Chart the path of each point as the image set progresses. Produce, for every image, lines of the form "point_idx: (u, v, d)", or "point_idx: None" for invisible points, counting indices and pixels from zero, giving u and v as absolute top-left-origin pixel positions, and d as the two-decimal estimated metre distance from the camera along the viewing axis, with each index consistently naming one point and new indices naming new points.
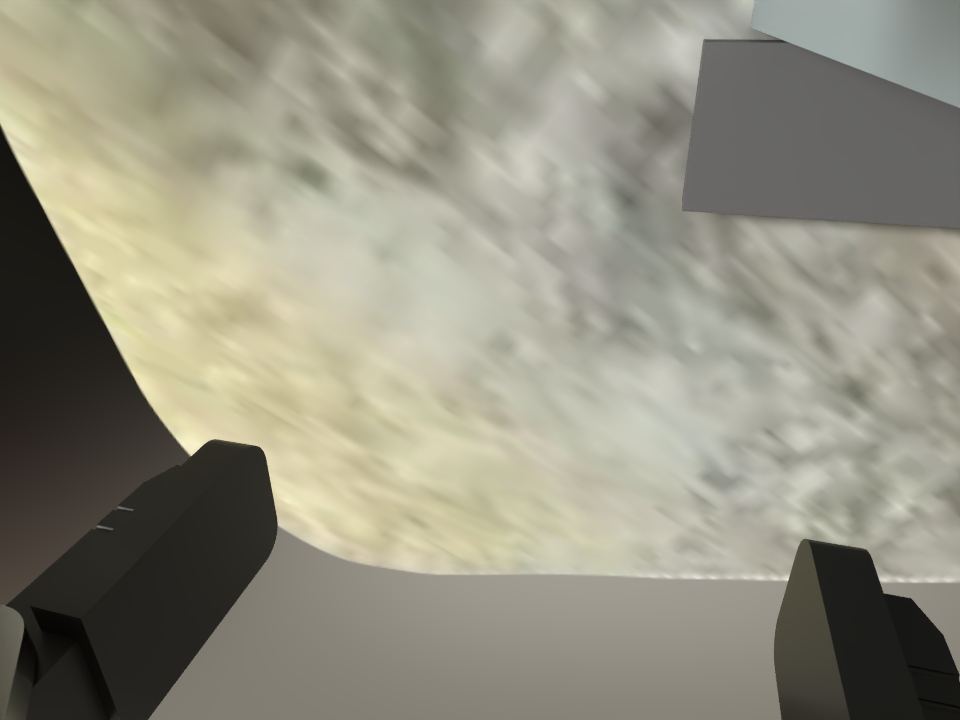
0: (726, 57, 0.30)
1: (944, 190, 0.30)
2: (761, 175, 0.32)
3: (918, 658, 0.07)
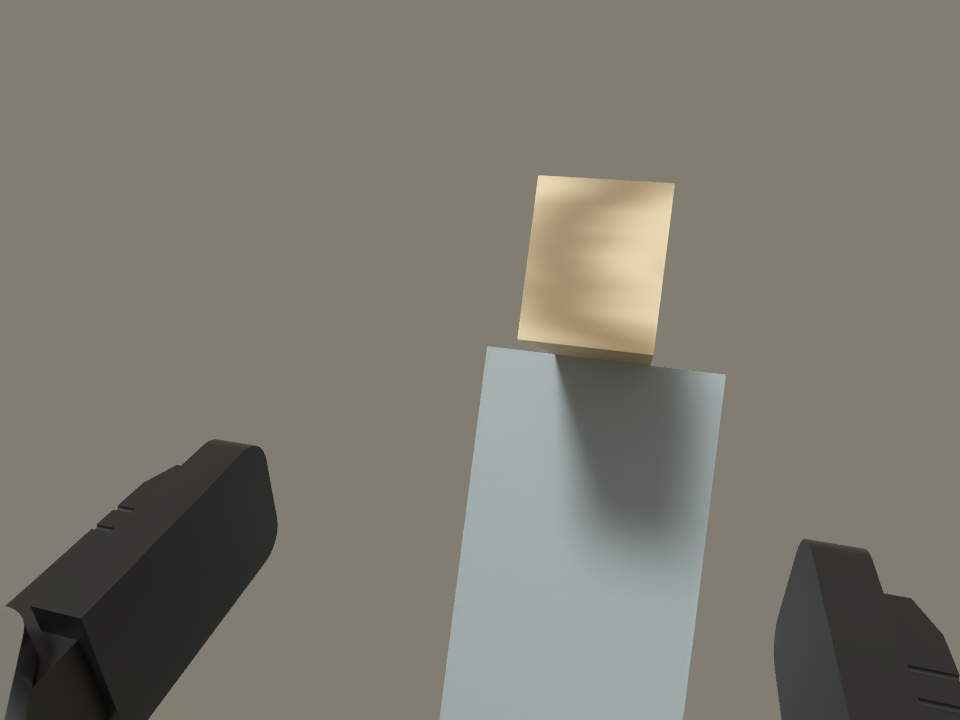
0: None
1: None
2: None
3: (918, 658, 0.07)
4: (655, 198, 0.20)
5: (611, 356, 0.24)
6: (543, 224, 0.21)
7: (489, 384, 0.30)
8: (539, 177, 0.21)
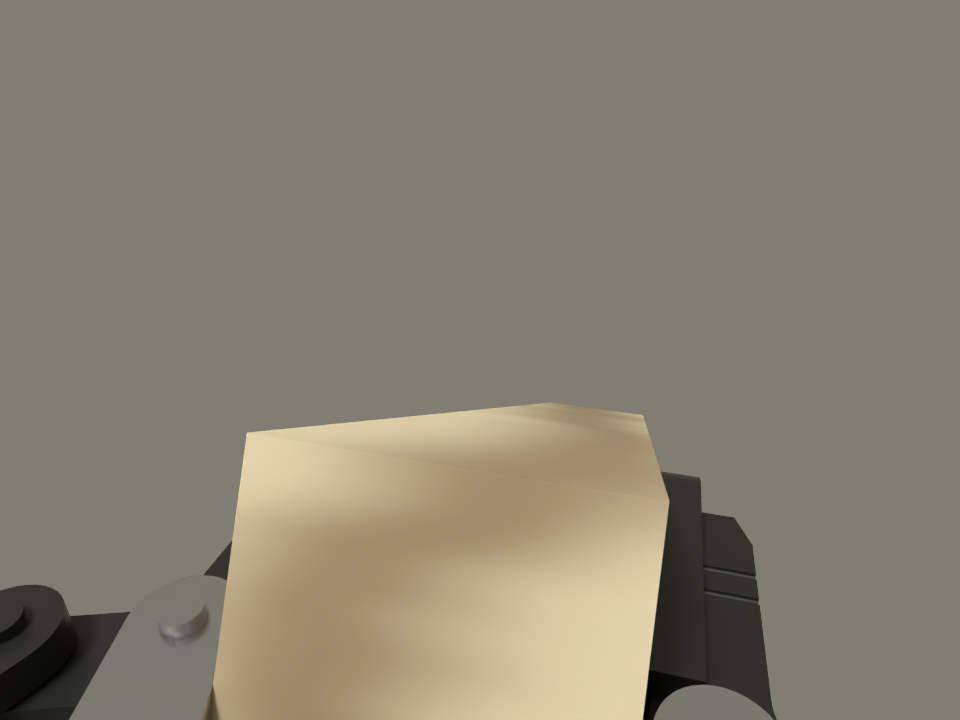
0: None
1: None
2: None
3: (724, 561, 0.09)
4: (603, 546, 0.06)
5: None
6: (257, 591, 0.07)
7: None
8: (250, 438, 0.07)
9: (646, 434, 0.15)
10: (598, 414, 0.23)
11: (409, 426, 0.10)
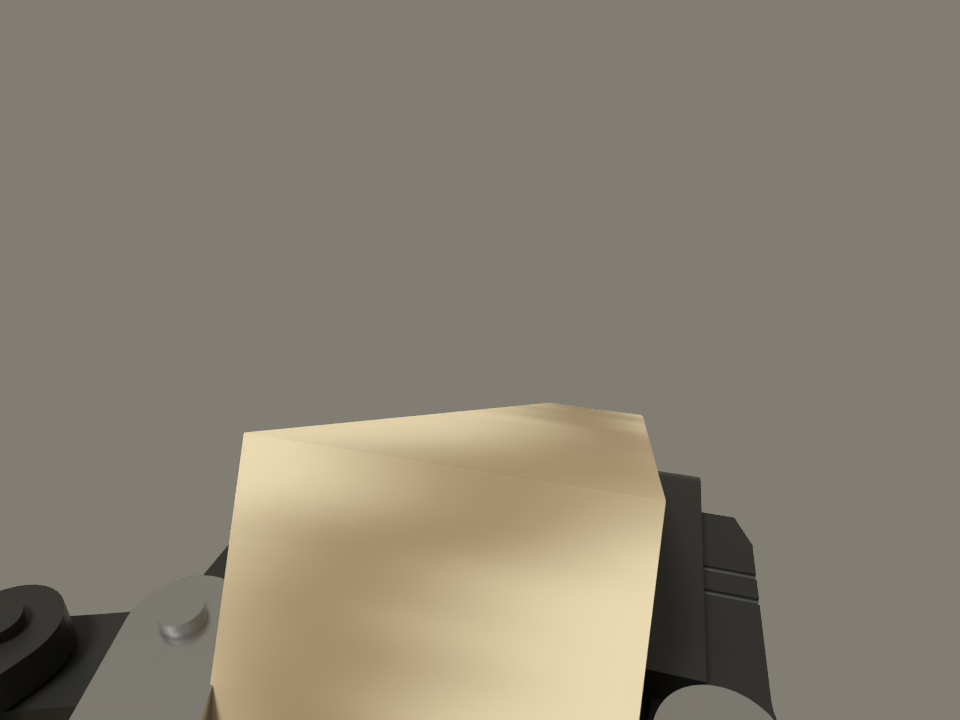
0: None
1: None
2: None
3: (724, 561, 0.09)
4: (600, 546, 0.06)
5: None
6: (255, 590, 0.07)
7: None
8: (247, 438, 0.07)
9: (645, 434, 0.15)
10: (597, 414, 0.23)
11: (407, 426, 0.10)
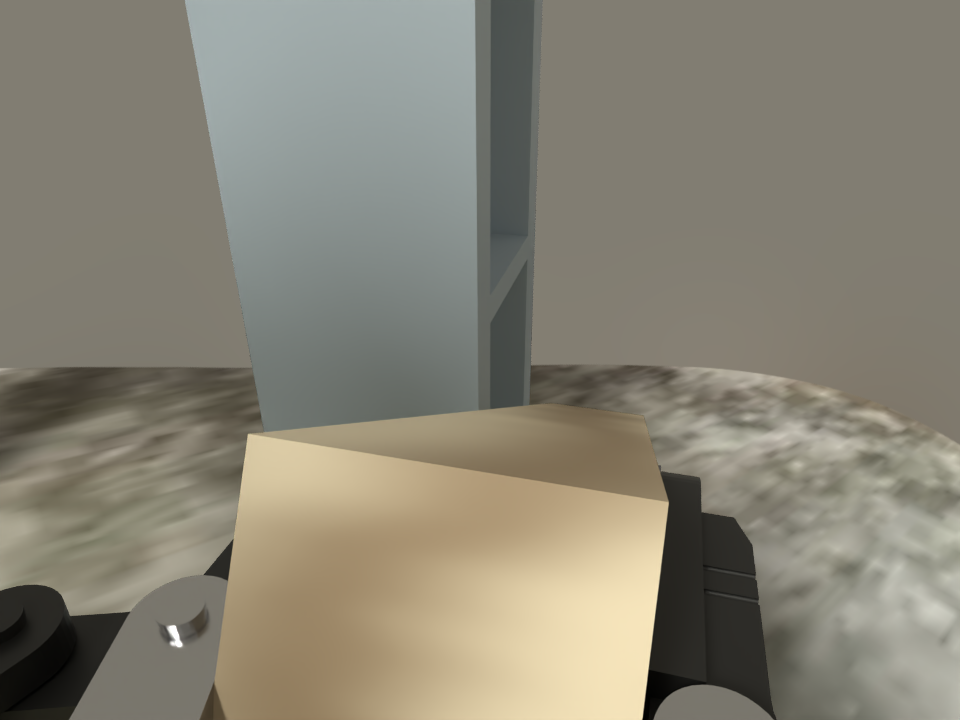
0: None
1: None
2: None
3: (725, 561, 0.09)
4: (603, 547, 0.06)
5: None
6: (259, 590, 0.07)
7: None
8: (251, 439, 0.07)
9: (646, 435, 0.15)
10: (598, 414, 0.23)
11: (410, 427, 0.10)
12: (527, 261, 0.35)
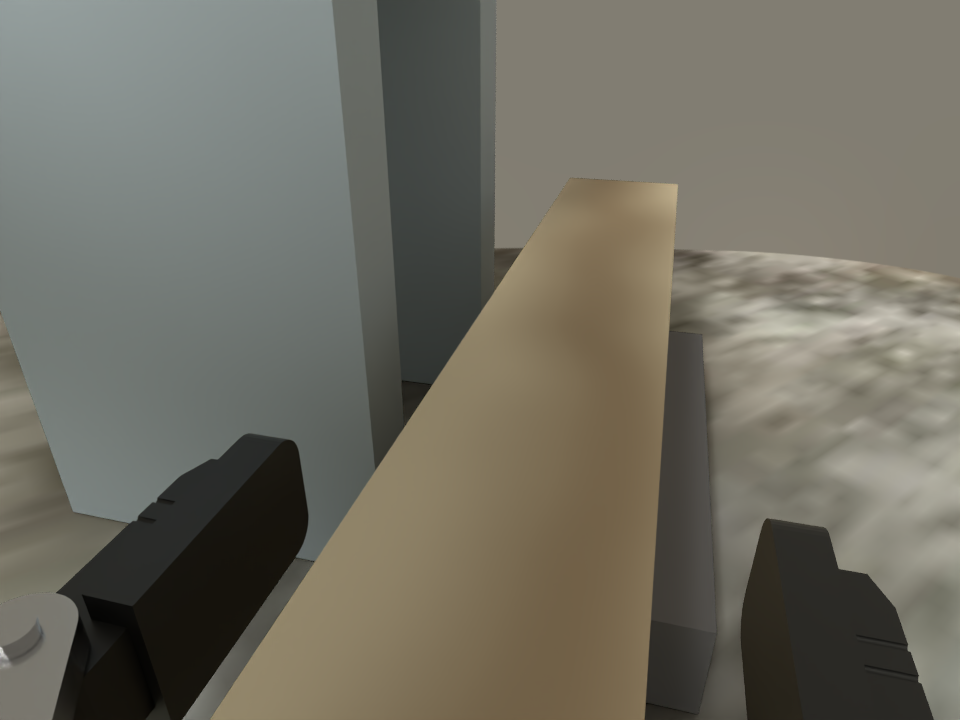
0: None
1: None
2: None
3: (869, 628, 0.08)
4: None
5: None
6: None
7: None
8: None
9: (664, 360, 0.13)
10: (620, 230, 0.20)
11: (360, 569, 0.08)
12: None
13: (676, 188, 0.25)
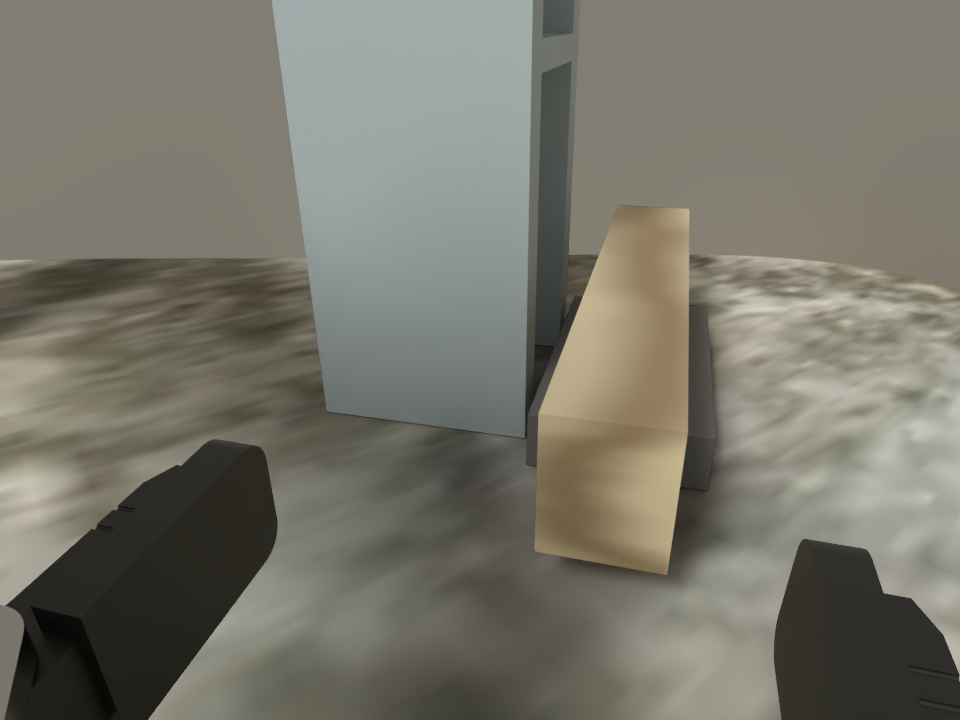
0: None
1: None
2: None
3: (918, 658, 0.07)
4: (666, 445, 0.18)
5: None
6: (549, 459, 0.19)
7: None
8: (539, 415, 0.19)
9: (687, 300, 0.26)
10: (656, 238, 0.34)
11: (576, 365, 0.21)
12: (571, 64, 0.33)
13: (688, 211, 0.38)
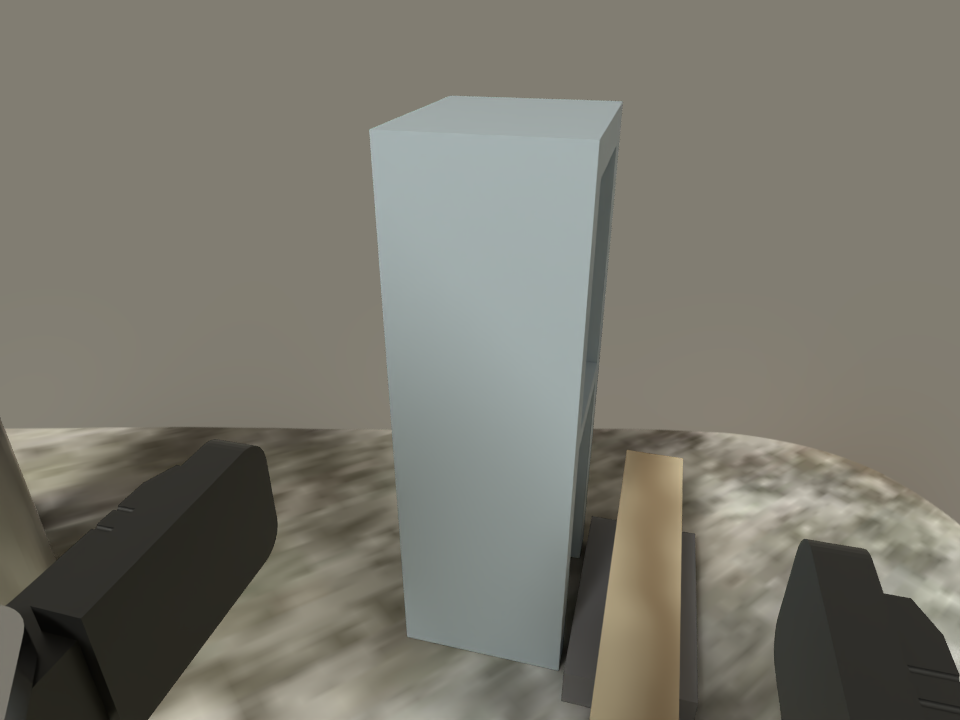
0: (576, 661, 0.40)
1: None
2: None
3: (918, 658, 0.07)
4: None
5: None
6: None
7: (378, 168, 0.30)
8: None
9: (679, 609, 0.37)
10: (657, 510, 0.44)
11: (605, 698, 0.33)
12: (595, 380, 0.44)
13: (682, 463, 0.49)
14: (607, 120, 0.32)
